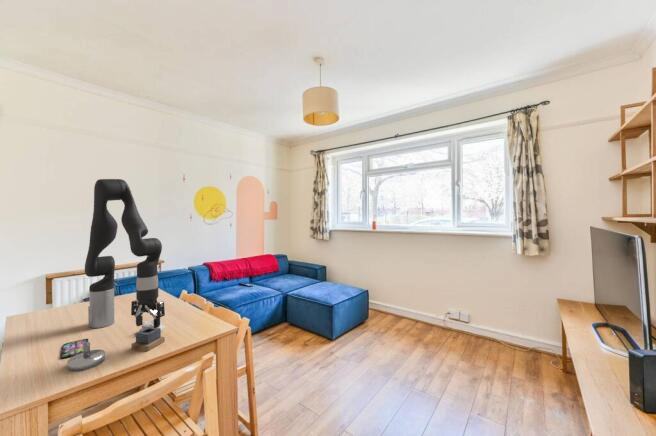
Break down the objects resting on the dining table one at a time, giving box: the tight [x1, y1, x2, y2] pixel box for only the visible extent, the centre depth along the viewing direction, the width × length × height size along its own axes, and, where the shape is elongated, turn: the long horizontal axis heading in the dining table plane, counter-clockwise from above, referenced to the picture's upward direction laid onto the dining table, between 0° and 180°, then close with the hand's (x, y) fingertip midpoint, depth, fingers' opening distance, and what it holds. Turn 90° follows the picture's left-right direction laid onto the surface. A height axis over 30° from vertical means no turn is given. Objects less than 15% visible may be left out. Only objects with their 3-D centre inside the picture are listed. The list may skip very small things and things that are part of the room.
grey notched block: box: [135, 327, 162, 345], centre depth 110 cm, size 6×6×4 cm
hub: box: [67, 341, 106, 372], centre depth 96 cm, size 10×10×8 cm
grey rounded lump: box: [138, 319, 165, 333], centre depth 123 cm, size 10×4×10 cm
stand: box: [131, 332, 166, 352], centre depth 110 cm, size 8×8×5 cm
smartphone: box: [60, 338, 89, 360], centre depth 107 cm, size 8×1×15 cm
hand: (148, 326), depth 109 cm, fingers open, 8 cm apart
